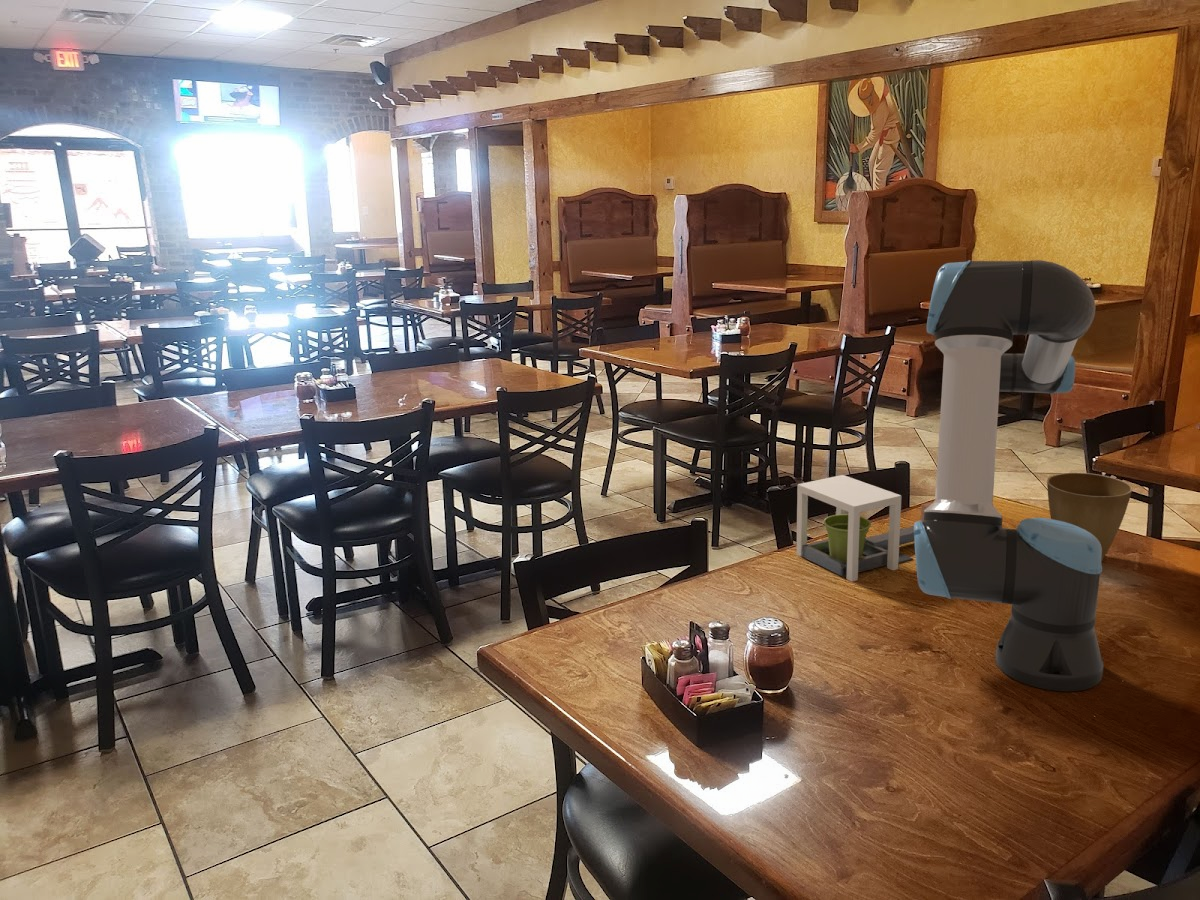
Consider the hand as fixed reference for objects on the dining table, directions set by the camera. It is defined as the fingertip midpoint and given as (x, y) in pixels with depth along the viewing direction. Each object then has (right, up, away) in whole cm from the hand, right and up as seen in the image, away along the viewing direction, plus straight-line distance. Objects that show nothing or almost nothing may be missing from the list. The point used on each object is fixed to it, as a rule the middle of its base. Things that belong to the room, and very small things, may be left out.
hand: (961, 512), depth 201 cm
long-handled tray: (-20, -7, -8) cm, 22 cm away
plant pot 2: (+18, -8, -16) cm, 25 cm away
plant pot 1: (-29, -9, -12) cm, 33 cm away
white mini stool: (-26, -9, -11) cm, 30 cm away
